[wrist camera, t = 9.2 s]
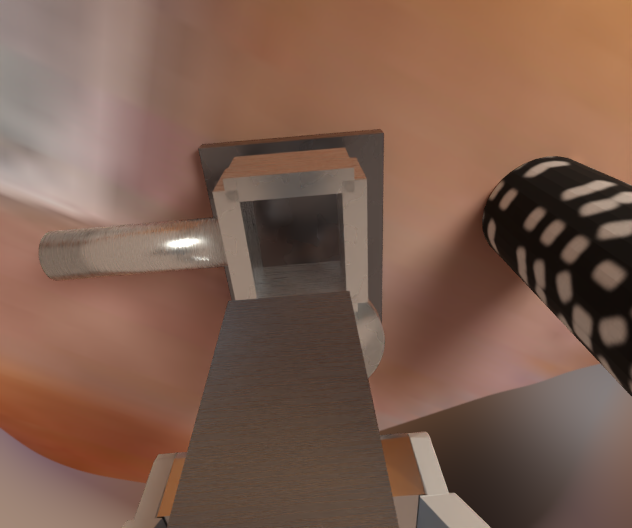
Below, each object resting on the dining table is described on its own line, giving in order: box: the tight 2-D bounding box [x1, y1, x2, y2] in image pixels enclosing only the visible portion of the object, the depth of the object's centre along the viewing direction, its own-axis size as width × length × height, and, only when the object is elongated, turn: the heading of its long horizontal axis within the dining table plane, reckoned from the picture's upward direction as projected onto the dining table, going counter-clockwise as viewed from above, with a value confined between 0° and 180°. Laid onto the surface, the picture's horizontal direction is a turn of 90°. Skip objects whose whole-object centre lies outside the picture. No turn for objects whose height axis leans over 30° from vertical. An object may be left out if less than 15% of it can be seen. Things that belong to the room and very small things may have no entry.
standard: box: [39, 129, 385, 378], centre depth 22 cm, size 17×20×20 cm
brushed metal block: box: [167, 291, 399, 528], centre depth 10 cm, size 5×4×9 cm
